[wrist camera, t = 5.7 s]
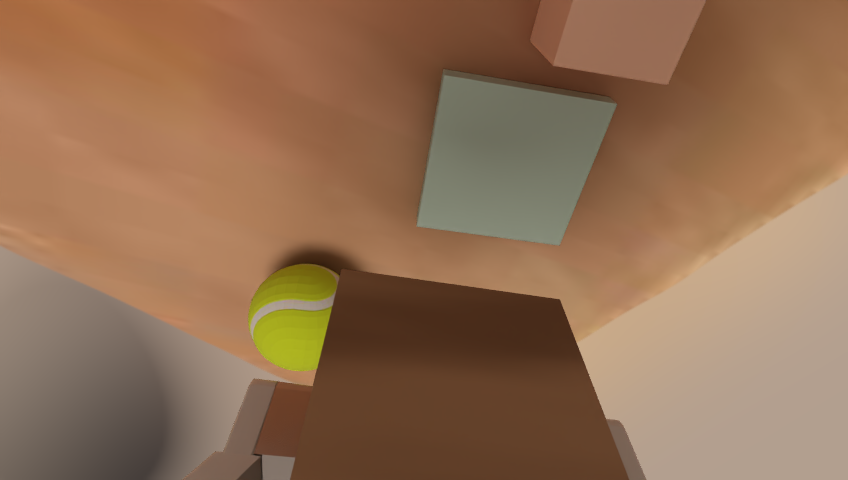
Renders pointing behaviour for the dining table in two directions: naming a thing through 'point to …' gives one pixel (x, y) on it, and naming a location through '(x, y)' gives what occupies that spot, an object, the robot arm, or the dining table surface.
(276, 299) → the tennis ball
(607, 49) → the terracotta cube
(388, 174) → the dining table surface
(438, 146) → the board
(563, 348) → the walnut cube
